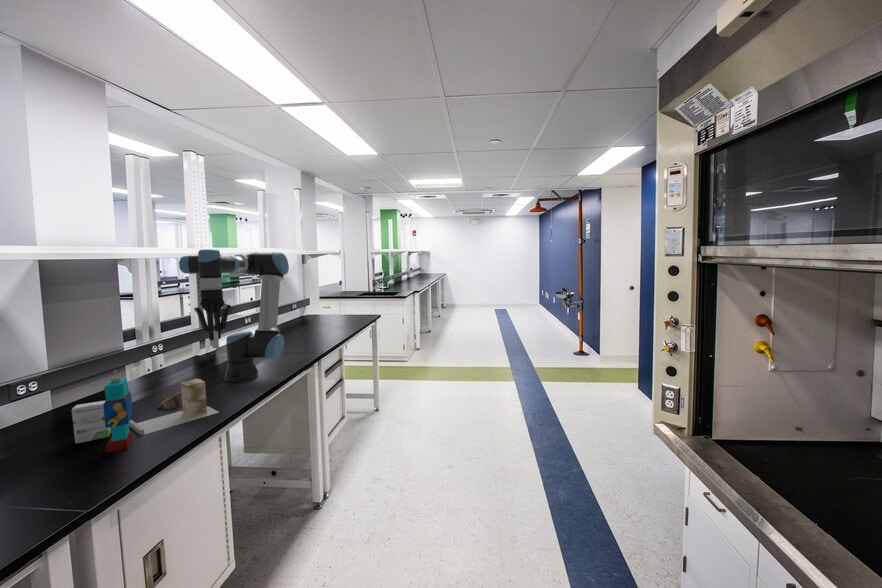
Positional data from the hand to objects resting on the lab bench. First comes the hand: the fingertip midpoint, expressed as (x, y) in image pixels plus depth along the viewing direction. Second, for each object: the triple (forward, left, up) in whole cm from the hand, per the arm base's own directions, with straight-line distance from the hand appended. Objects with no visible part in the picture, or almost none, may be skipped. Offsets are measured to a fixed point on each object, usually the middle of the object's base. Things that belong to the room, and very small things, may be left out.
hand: (215, 347), depth 156 cm
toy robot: (+34, +10, -25) cm, 43 cm away
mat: (+15, 0, -24) cm, 29 cm away
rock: (+9, -20, -25) cm, 33 cm away
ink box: (+38, -5, -25) cm, 46 cm away
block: (+9, 0, -24) cm, 26 cm away
